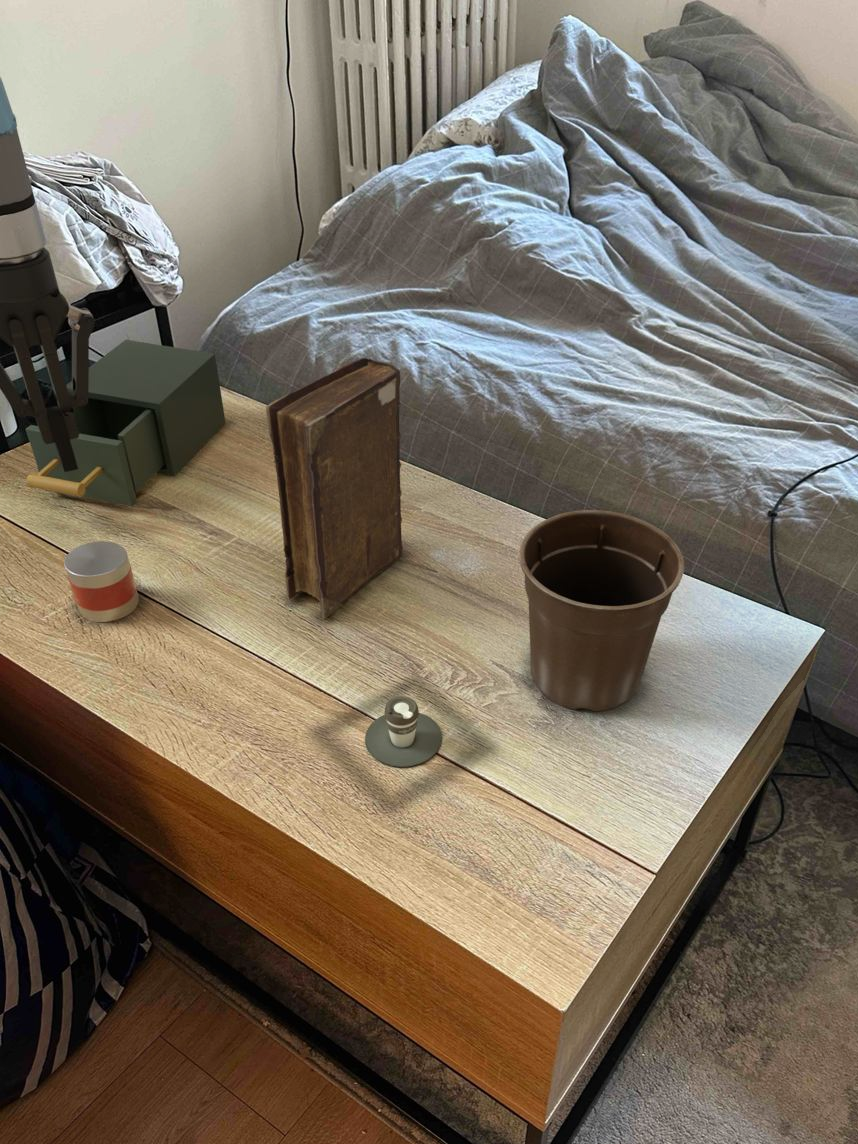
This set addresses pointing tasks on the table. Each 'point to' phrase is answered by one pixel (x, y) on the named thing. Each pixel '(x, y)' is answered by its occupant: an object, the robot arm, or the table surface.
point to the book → (339, 480)
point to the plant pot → (595, 603)
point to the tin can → (101, 581)
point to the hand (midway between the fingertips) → (68, 464)
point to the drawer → (102, 454)
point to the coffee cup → (403, 734)
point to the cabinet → (164, 393)
